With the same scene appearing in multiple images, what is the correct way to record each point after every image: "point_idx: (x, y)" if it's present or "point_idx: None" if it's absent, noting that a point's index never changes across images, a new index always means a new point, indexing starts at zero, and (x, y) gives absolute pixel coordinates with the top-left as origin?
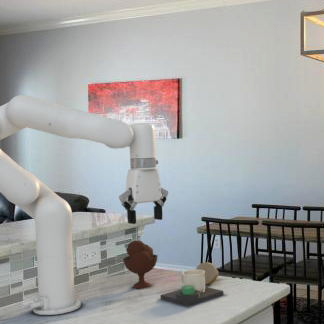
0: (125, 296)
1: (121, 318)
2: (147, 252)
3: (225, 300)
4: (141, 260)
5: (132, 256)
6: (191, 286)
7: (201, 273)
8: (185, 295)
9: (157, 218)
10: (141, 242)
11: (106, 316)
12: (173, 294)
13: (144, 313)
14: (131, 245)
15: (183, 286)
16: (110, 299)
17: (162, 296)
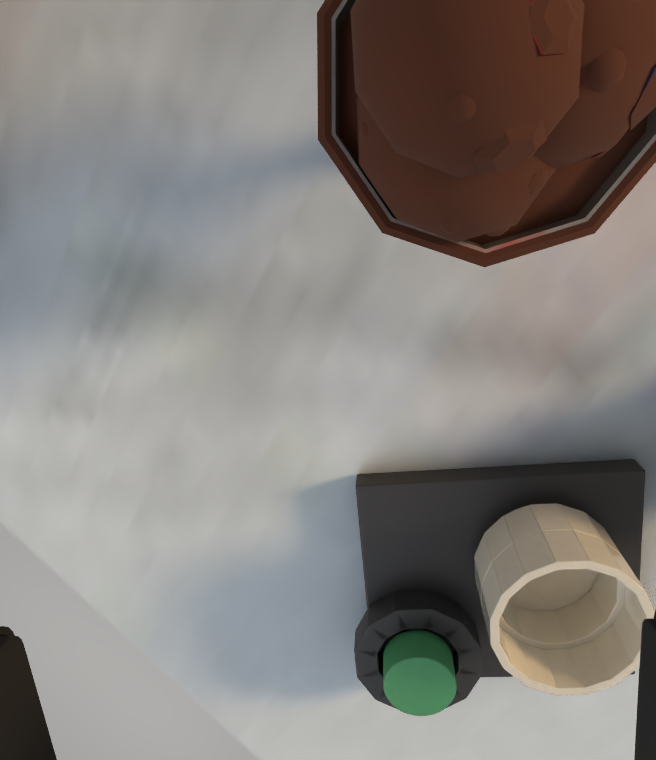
0: (253, 255)
1: (71, 571)
2: (537, 168)
3: (562, 714)
4: (406, 238)
5: (364, 133)
6: (437, 695)
7: (575, 693)
8: (374, 687)
9: (645, 715)
10: (519, 103)
11: (29, 498)
12: (410, 532)
13: (180, 589)
14: (377, 75)
15: (407, 664)
16: (158, 243)
17: (357, 500)
